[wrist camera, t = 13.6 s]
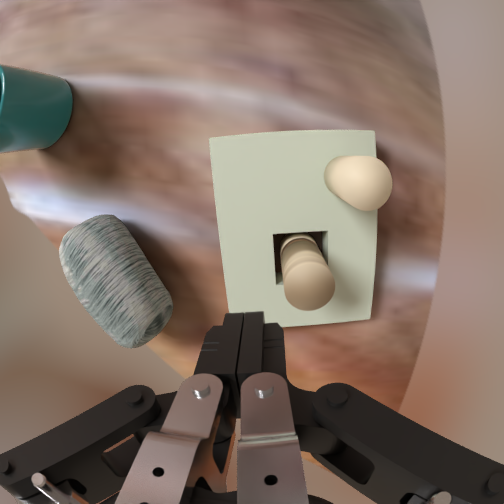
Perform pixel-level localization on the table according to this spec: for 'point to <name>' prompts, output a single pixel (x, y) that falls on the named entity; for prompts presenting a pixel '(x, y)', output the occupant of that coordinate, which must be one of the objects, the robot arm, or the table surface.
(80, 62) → the table surface
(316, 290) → the peg
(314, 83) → the table surface
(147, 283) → the spool
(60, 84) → the cup
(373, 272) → the seat board
